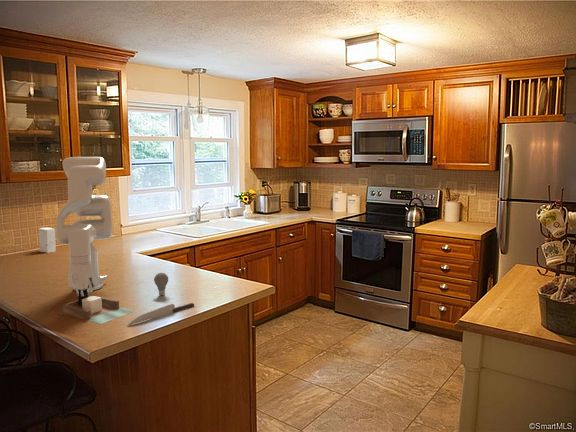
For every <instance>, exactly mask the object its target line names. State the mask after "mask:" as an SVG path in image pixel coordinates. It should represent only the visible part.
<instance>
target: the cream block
mask: <svg viewBox="0 0 576 432" xmlns="http://www.w3.org/2000/svg"><path fill="white" fill-rule="evenodd" d="M90 296H91V297H89V296H88V298H84V299H82V307H83V309H85V310H89V311H90V314H93V313H95V312H98V311H101V310H102V298H101V297H102V296H99V297H96V296H97V295H95V296H92V295H90Z"/></svg>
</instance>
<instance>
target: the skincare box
mask: <svg viewBox="0 0 576 432" xmlns="http://www.w3.org/2000/svg"><path fill="white" fill-rule="evenodd" d="M38 240H39V241H38V242H39V244H38V245H39V253H40V252H41V253H45V254H46V253H54V252H57V251H56V247H57V246H56V228H53V227H38Z"/></svg>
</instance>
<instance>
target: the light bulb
mask: <svg viewBox="0 0 576 432" xmlns="http://www.w3.org/2000/svg"><path fill="white" fill-rule="evenodd" d="M153 281H154V284H155V286H156V288H157V290H158V295H159V296H164V295H166V288H167V287H166V286H167V284H168V282H169V276H168V275H167V274H166V273H165V272H158V273H157V274H156V275H155V276H154V279H153Z"/></svg>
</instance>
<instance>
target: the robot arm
mask: <svg viewBox="0 0 576 432" xmlns="http://www.w3.org/2000/svg"><path fill="white" fill-rule="evenodd" d="M62 168H63V171H64V173H65V177H66V178H67V201H66V202H65V204H64V205H63V206H62V207H61V208H60V210H58V211H59V212H58V214H57V216H56V221H55V223H56V225H55V227H56V228H55V237H56V241H57V242H58V243H59V244H60V245H68V253H69V264H68V272H67V277H68V278H67V279H68V282H67V283H68V287H69V288H71V289H73V291H75V292H76V296H77V298H78V299H77V300H78V302H79V306H82V299H84V298H88V297H89V296H90V295H89V294H90V293H92V292H94V291H96V290H99V289H102V288H103V287H104V283H103V281H106V280H108V278H109V276H108V275H103V276H102V275H100V274H99V273H100V272H99V257H98V249H97V247H96V245H95V244H93V241H101V240H110V239H111V238H112V237H113V235H114V234H113V231H114V229H113V227H114V226H113V215H112V205H111V204H112V203H111V200H110V198H109V196H107V195H106V194H105V195H104V194H96V195H95V194H93V186H101V185H104V184H105V182H106V177H107V164H106V160H105V159H104V158H103V157H102V156H71V157H66V158H64V159H63V160H62ZM72 213H74V215H75V216H77V217H100V218H96V219H95V218H93V219H92V218H90V219H87V218H86V219H78V220H75V221H73V222H72V223H71V224H66V225H65V220H66V219H67V217H68V216H69V215H70V214H72Z"/></svg>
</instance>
